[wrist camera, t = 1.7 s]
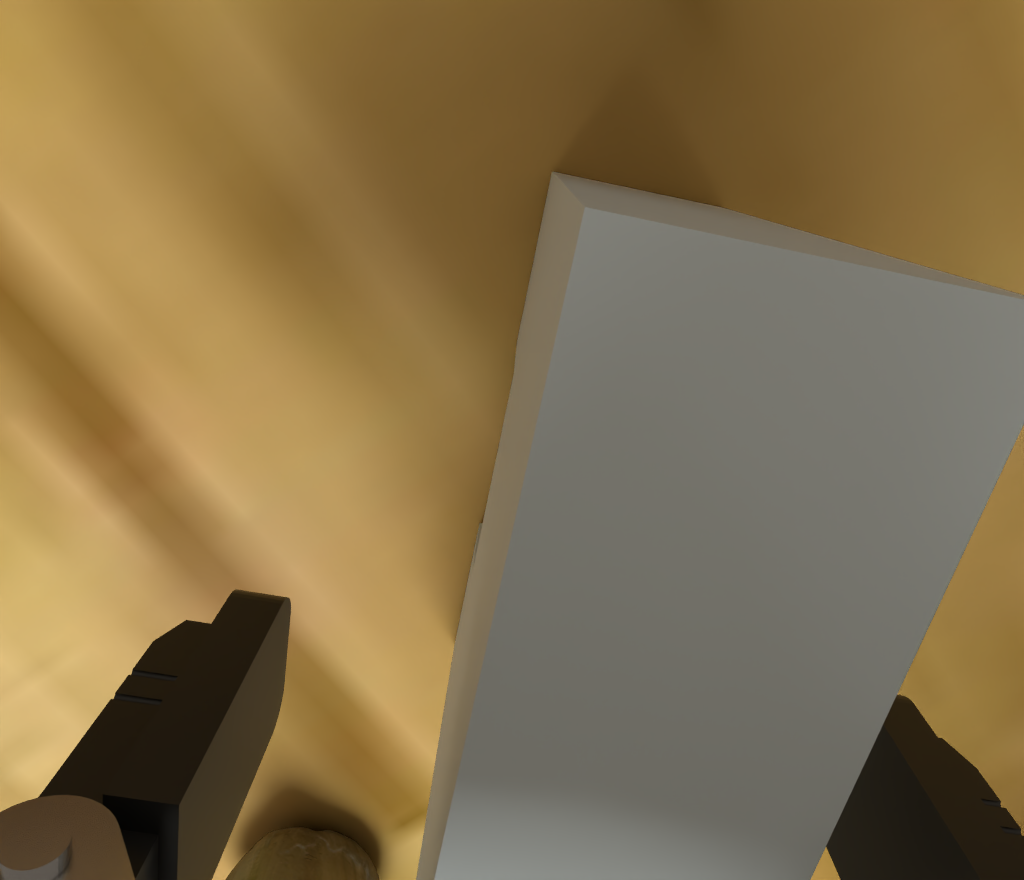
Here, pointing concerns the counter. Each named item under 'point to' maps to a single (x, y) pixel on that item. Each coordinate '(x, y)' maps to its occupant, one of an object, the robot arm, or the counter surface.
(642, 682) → the plain gray rectangular block
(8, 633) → the counter surface
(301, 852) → the fennel bulb
